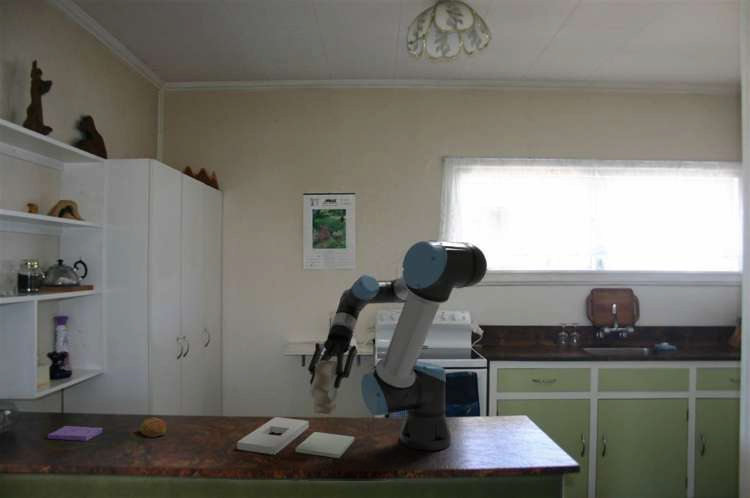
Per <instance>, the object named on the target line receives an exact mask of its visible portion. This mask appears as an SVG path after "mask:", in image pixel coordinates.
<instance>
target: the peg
mask: <svg viewBox="0 0 750 498" xmlns="http://www.w3.org/2000/svg"><path fill="white" fill-rule="evenodd" d="M319 361H320V360H319ZM319 361H318V363H316V364H315V396H314V398H313V399H314V401H313V403H314V404H313V407H314V408H313V412H314V413H315V414H325V415H331V414H333V413H334V412H335V411H336V410H337V405H338V404H337V400H338V399H337V398H338V388H336V390H335V393H334V396H333V400H330V399H329V397H328V392H329V389H330V385H331V382H332V379H333V376H334V375H337V373H336V372H337V361H335V360H329V361H323V360H322V361H320V362H319Z"/></svg>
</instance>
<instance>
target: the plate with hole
mask: <svg viewBox="0 0 750 498" xmlns="http://www.w3.org/2000/svg"><path fill="white" fill-rule="evenodd" d="M309 425H310V422H309V420H304V419H294V418H286V417H279V416H275V417H273V418H272V419H270V420H269V421H267V422H266V423H264V424H263V425H261V426H260V427H257V429H255V430H254V431H252V432H250V433H248V434H247V435H246V436H243V438H241V439H240V440H238V441H237V442H236V443H237V444H236V449H237V450H239V451H240V450H241V451H246V452H252V453H253V452H254V453H255V452H256V453H260V454H261V453H262V454H266V453H267V455H273V454H274V455H276V453H277V454H278V453H279V452H280V451H281V450H283V449H285V447H286V446H287V445H289V444H291V443H292V441H294V440H295V439H296V438H297V437H299V436H300V435H302V433H303V432H304V431H306V430H308V429H309V427H310V426H309ZM272 432H274V433H273V434H271V433H272ZM269 433H270V434H269ZM279 433H282V434H280V435H276V434H279ZM274 434H275V435H274ZM274 455H273V456H274Z"/></svg>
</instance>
